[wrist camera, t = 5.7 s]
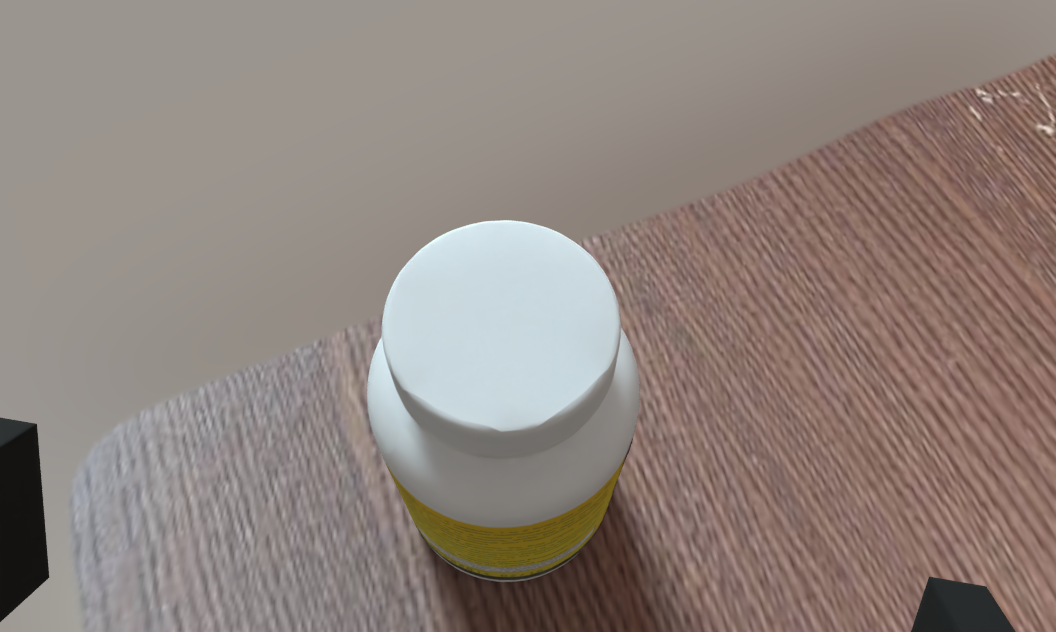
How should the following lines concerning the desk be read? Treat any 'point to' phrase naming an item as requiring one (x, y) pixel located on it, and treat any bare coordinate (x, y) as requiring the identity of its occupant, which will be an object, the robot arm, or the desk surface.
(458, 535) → the supplement bottle
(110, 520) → the desk surface
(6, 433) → the robot arm
